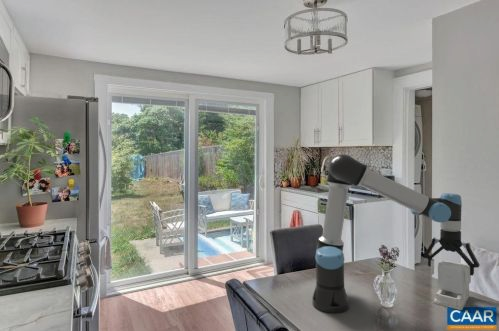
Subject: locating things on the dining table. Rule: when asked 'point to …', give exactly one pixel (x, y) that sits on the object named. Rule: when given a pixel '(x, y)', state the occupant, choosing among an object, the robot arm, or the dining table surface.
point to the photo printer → (451, 277)
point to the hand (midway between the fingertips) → (450, 278)
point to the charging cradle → (453, 294)
